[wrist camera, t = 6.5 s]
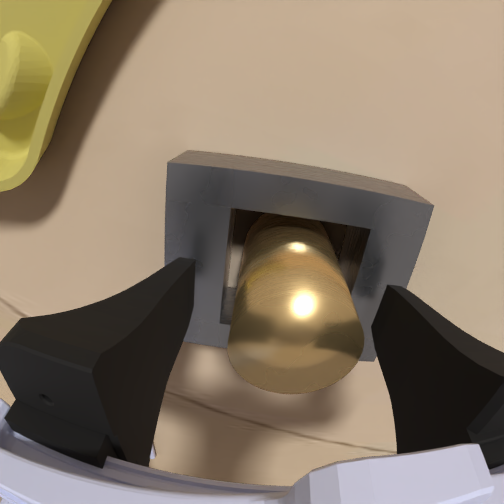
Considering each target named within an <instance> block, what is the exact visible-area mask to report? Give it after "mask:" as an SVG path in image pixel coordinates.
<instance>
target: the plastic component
mask: <svg viewBox="0 0 504 504" xmlns="http://www.w3.org/2000/svg"><path fill="white" fill-rule="evenodd" d="M111 2H112V0H0V192H2V191H7V190H11V189H13V188H15V187H17V186H19V185H21V184H22V183H23V182H24V181H25V180H26V179H28V177H29V176H30V175H31V173H32V172H33V170H34V169H35V167H36V165H37V163H38V162H39V160H40V158H41V157H42V155H43V153H44V152H45V150H46V149H47V147H48V145H49V143H50V141H51V139H52V136H53V132H54V129H55V126H56V123H57V120H58V117H59V114H60V112H61V109H62V106H63V103H64V101H65V98H66V95H67V93H68V90H69V88H70V85H71V83H72V80H73V78H74V75H75V73H76V71H77V68H78V66H79V64H80V62H81V59H82V57H83V55H84V53H85V51H86V49H87V47H88V44H89V42H90V40H91V38H92V36H93V34H94V32H95V31H96V29H97V27H98V25H99V23H100V21H101V19H102V17H103V16H104V14H105V12H106V10H107V9H108V7H109V5H110V3H111Z"/></svg>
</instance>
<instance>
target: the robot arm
mask: <svg viewBox="0 0 504 504" xmlns="http://www.w3.org/2000/svg"><path fill="white" fill-rule="evenodd" d="M195 267H196V259H190V258H183V257H179V258H177V259H175V260H174V261H172V262H171V263H169V264H168V265H166V266H165V267H163V268H162V269H160V270H159V271H157V272H156V273H154V274H153V275H151V276H149V277H148V278H146V279H144V280H143V281H141V282H139V283H137V284H136V285H134V286H132V287H130V288H129V289H127V290H125V291H123V292H121V293H119V294H116V295H114V296H112V297H109V298H107V299H105V300H102V301H99V302H96V303H93V304H90V305H87V306H84V307H81V308H78V309H74V310H70V311H66V312H61V313H56V314H51V315H44V316H36V317H28V318H21V319H20V320H19V321H18V322H17V323H16V324H15V326H14V327H13V328H12V329H11V330H10V331H9V332H8V334H7V335H6V336H5V337H4V338H3V339H2V341H1V342H0V371H1V373H2V375H3V377H4V379H5V380H6V382H7V384H8V386H9V388H10V390H11V391H12V393H13V395H14V397H15V399H16V400H15V402H14V403H13V405H12V406H11V407H10V405H8V404H7V403H6V402H5V401H4V400H2V399H1V398H0V497H2V500H1V503H0V504H504V353H503V352H501V351H499V350H497V349H495V348H493V347H491V346H489V345H487V344H485V343H483V342H481V341H479V340H477V339H476V338H474V337H472V336H471V335H469V334H468V333H466V332H464V331H463V330H461V329H460V328H458V327H457V326H455V325H454V324H453V323H451V322H450V321H448V320H447V319H446V318H444V317H443V316H442V315H440V314H439V313H438V312H436V311H435V310H434V309H433V308H431V307H430V306H429V305H427V304H426V303H425V302H423V301H422V300H421V299H420V298H418V297H417V296H416V295H414V294H413V293H411V292H410V291H408V290H407V289H405V288H403V287H402V286H396V285H388V284H387V286H386V289H385V292H384V294H383V297H382V300H381V302H380V305H379V308H378V310H377V313H376V315H375V318H374V320H373V323H372V325H371V330H372V337H373V342H374V347H375V351H376V354H377V357H378V360H379V363H380V366H381V370H382V373H383V376H384V379H385V382H386V385H387V388H388V391H389V395H390V399H391V403H392V409H393V416H394V422H395V431H396V442H397V454H394V455H384V456H372V457H362V458H356V459H350V460H343V461H337V462H334V463H331V464H328V465H325V466H322V467H319V468H316V469H313V470H312V471H310V472H309V473H308V474H306V475H305V476H303V477H302V478H301V479H299V480H298V481H297V482H296V483H295V484H294V485H293V486H271V485H255V484H244V483H234V482H225V481H218V480H211V479H204V478H198V477H192V476H186V475H181V474H176V473H171V472H166V471H162V470H157V469H153V468H149V461H150V459H154V458H155V456H156V454H155V450H154V446H153V440H154V435H155V430H156V425H157V421H158V416H159V412H160V408H161V404H162V400H163V396H164V392H165V388H166V384H167V381H168V378H169V375H170V372H171V370H172V367H173V365H174V362H175V360H176V357H177V355H178V352H179V350H180V347H181V345H182V342H183V340H184V337H185V335H186V332H187V330H188V327H189V323H190V320H191V316H192V312H193V308H194V289H195Z"/></svg>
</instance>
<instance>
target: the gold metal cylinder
mask: <svg viewBox="0 0 504 504" xmlns="http://www.w3.org/2000/svg"><path fill="white" fill-rule="evenodd" d="M363 348H364V332H363V328H362V326H361V323H360V320H359V317H358V314H357V311H356V308H355V306H354V303H353V300H352V297H351V295H350V292H349V289H348V287H347V284H346V281H345V279H344V276H343V273H342V271H341V268H340V266H339V263H338V260H337V258H336V255H335V253H334V250H333V248H332V245H331V243H330V240H329V238H328V235H327V233H326V231H325V229H324V227H323V225H322V224H321V223H320V221H319V220H314V219H307V218H301V217H294V216H287V215H280V214H273V213H265V214H264V215H262V216H261V217H259V218H258V219H257V220H256V221H255V222H254V223H253V224H252V226H251V227H250V229H249V231H248V233H247V236H246V239H245V245H244V250H243V256H242V262H241V268H240V273H239V279H238V285H237V291H236V297H235V302H234V308H233V314H232V320H231V326H230V332H229V338H228V347H227V350H228V356H229V359H230V362H231V364H232V366H233V368H234V369H235V370H236V372H237V373H238V374H239V375H240V376H241V377H242V378H243V379H245V380H246V381H247V382H249V383H251V384H252V385H254V386H256V387H258V388H261V389H264V390H266V391H270V392H275V393H281V394H301V393H308V392H313V391H316V390H320V389H323V388H325V387H328V386H330V385H332V384H334V383H336V382H337V381H339V380H340V379H342V378H343V377H344V376H345V375H347V374H348V373H349V372H350V371H351V370H352V369H353V368H354V366H355V365H356V364H357V362H358V360H359V359H360V357H361V354H362V352H363Z"/></svg>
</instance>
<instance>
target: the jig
mask: <svg viewBox="0 0 504 504" xmlns="http://www.w3.org/2000/svg"><path fill="white" fill-rule="evenodd" d="M236 208H237V209H244V210H252V211H259V212H266V213H273V214H280V215H287V216H294V217H301V218H307V219H314V220H320V221H326V222H333V223H339V224H345V225H347V230H346V234H345V237H344V241H343V245H342V249H341V253H340V257H339V260H338V263H339V266H340V268H341V271H342V273H343V276H344V279H345V281H346V284H347V287H348V289H349V292H350V295H351V297H352V300H353V303H354V306H355V308H356V311H357V314H358V317H359V320H360V323H361V326H362V328H363V332H364V348H363V352H362V354H361V357H360V359H359V360H358V361H373V362H374V360H375V358H376V356H377V354H376V351H375V347H374V342H373V337H372V330H371V325H372V323H373V320H374V318H375V315H376V313H377V310H378V308H379V305H380V302H381V300H382V297H383V294H384V292H385V289H386V286H387V284H388V285H396V286H402V287H403V288H405V289H406V288H407V285H408V283H409V280H410V277H411V275H412V272H413V269H414V266H415V264H416V261H417V258H418V255H419V252H420V249H421V246H422V243H423V240H424V237H425V234H426V231H427V228H428V224H429V221H430V218H431V215H432V211H433V208H434V205H433V204H431V203H430V202H429V201H427V200H426V199H424V198H423V197H421V196H420V195H419V194H417V193H416V192H414V191H413V190H411V189H410V188H409V187H407V186H405V185H401V184H397V183H393V182H388V181H384V180H379V179H375V178H370V177H366V176H361V175H356V174H351V173H346V172H341V171H335V170H330V169H325V168H319V167H313V166H307V165H301V164H295V163H289V162H282V161H276V160H269V159H262V158H254V157H246V156H238V155H230V154H221V153H212V152H202V151H191V150H188V151H186V152H184V153H182V154H181V155H179V156H177V157H176V158H174V159H172V160H170V161H169V162H168V163H167V181H166V206H165V266H166V265H168V264H169V263H171V262H172V261H174V260H175V259H177V258H179V257H183V258H190V259H196V267H195V289H194V308H193V312H192V316H191V320H190V323H189V327H188V330H187V332H186V335H185V337H184V340H183V341H184V342H190V343H196V344H202V345H209V346H215V347H222V348H227V347H228V338H229V332H230V326H231V320H232V314H233V308H234V302H235V297H236V291H237V288H231V287H228V277H229V268H230V259H231V249H232V240H233V231H234V222H235V214H236Z"/></svg>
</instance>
